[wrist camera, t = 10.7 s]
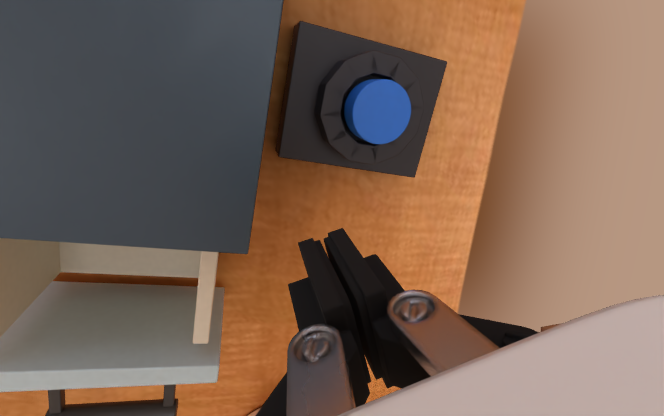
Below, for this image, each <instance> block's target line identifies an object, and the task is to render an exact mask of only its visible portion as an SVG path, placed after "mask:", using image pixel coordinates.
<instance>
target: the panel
mask: <svg viewBox="0 0 664 416" xmlns="http://www.w3.org/2000/svg"><path fill="white" fill-rule="evenodd" d="M446 65H447V61H443V60H440V59H436V58H432V57H429V56H425V55H422V54H418V53H414V52H411V51H407V50H404V49H400V48H396V47H393V46H389V45H386V44H382V43H378V42H375V41H371V40H367V39H364V38H360V37H357V36H353V35H349V34H346V33H342V32H339V31H335V30H331V29H328V28H324V27H321V26H317V25H313V24H310V23H306V22H303V21H300V22H299V23H298V24H296V25H295V26H294V32H293V39H292V45H291V52H290V58H289V65H288V72H287V78H286V85H285V91H284V98H283V104H282V111H281V118H280V124H279V131H278V137H277V144H276V152H277V154H278V156H279V157H283V158H289V159H296V160H302V161H309V162H316V163H322V164H329V165H335V166H342V167H348V168H355V169H362V170H368V171H375V172H381V173H388V174H394V175H401V176H407V177H415V174H416V171H417V167H418V164H419V160H420V157H421V153H422V149H423V146H424V142H425V139H426V135H427V132H428V128H429V125H430V121H431V118H432V114H433V111H434V107H435V103H436V100H437V96H438V93H439V89H440V86H441V82H442V79H443V75H444V72H445V68H446ZM370 79H387V80H392V81H394V82H396V83H398V84H399V85H401V86H402V87H403V88H404V90H405V91H406V92H407V94H408V96H409V99H410V103H411V116H410V120H409V123H408V125H407V127H406V129H405V130H404V132H403V133H402V134H401V135H400V136H399V137H398V138H397V139H395V140H394V141H392V142H389V143H386V144H372V143H370V142H367V141H365V140H363V139H361V138H359V137H357V136H356V135H354V134H353V133H352V132H351V131H350V129H349V128H348V126H347V124H346V121H345V117H344V107H345V102H346V99H347V97H348V95H349V93H350V92H351V90H352V89H353V88H354V87H355V86H356V85H358V84H359V83H361V82H363V81H366V80H370Z"/></svg>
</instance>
